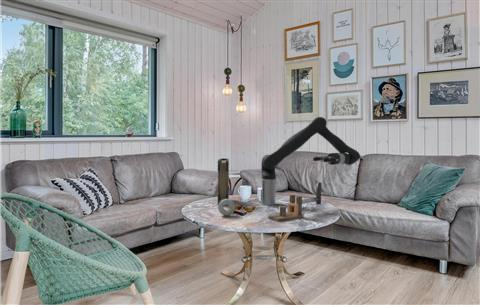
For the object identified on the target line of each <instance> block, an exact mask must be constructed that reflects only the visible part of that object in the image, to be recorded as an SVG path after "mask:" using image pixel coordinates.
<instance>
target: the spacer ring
mask: <svg viewBox="0 0 480 305" xmlns="http://www.w3.org/2000/svg"><path fill="white" fill-rule="evenodd" d="M292 206H294V212H292ZM287 213H289V214H293V215H299V205H298V204H296V203H295V204H294V203H290V202H287Z"/></svg>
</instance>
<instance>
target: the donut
mask: <svg viewBox="0 0 480 305" xmlns="http://www.w3.org/2000/svg"><path fill="white" fill-rule="evenodd" d="M226 205H228V209H225V206H226ZM217 209H218V210H217V211H218V213H220V214H221V215H222V216H225V217H227V216H228V217H229V216H231V215H232V214H233V213H234V212H235V210H236V204H235V202H234V201H233V200H232V199H231V198H229V199H223V200H222V201H221V202H220V203H219V205H218V204H217Z"/></svg>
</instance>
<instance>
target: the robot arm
mask: <svg viewBox="0 0 480 305" xmlns="http://www.w3.org/2000/svg"><path fill="white" fill-rule="evenodd" d="M317 134H318V135H320V136H321V137H322V138H323V139H325V140H326V141H327V142H328V144H330V145H331V146H332V147H333V148H334V149H335V150H337V152H331V153H328V155H325V156H324V155H323V156H322V155H321V156H315V157H313V159H312V160H313V162H323V163H328V164H329V165H330V166H331V165H332V166H334V165H335V166H336V165H342V164H345V165H347V166H350V165H353V164H355V163H356V162H357V161H359V160H360V159H361V154H360V153H359V152H358V150H356V149H355V148H352V147H351V146H349V145H348V144H346V142H344V141H343V140H342V139H341V138H340V137H339V136H337V135H336V134H334V133H333V132H332V131H331V130H330V129H329V128H328V127H327V120H326V118H325V117H322V116H317V117H316V118H314V119H313V120H312V122H310V123H309V124H308V125H307V126H306V127H304V128H303V129H301V130H299V131H298V132H296V133H295V134H293V135H292V136H291V137H289V138H287V140H286V141H284V142H283V143H282V144H281V146H280V147H279V148H277V150H275V151H273V153H270V154H266V155H264V156H262V158H261V188H260V204H261V205H262V206H274V205H276V193H277V192H276V188H277V187H276V184H277V182H276V180H277V175H276V166H278V164H280V163H281V162H282V161H283V160H284V159H286V158H287V157H288V156H290V155H292V154H293V153H295V152H296V151H298V150H299V149H300V148H301V147H302V146H303V145H305V144H306V142H308V141H309V140H310V139H311V138H312V137H313V136H314V135H315V136H316V135H317Z"/></svg>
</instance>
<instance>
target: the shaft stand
mask: <svg viewBox="0 0 480 305" xmlns="http://www.w3.org/2000/svg"><path fill="white" fill-rule="evenodd" d="M302 199H303V196H300V195H297V196H296V195H295V194H289V203H294V204H298V205H299V215H293V214H289V213H288V212H287V207H286V206H279V213H277V214H273V215H272V214H270V215H267V216H268V217H267V218H268V219H269V220H272V221H274V222H278V223H280V222H285V221H291V220H297V219H300V218H304V216H305V215H304V213H303V209H302V208H303V204H302ZM292 212H294V206H292Z"/></svg>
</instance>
